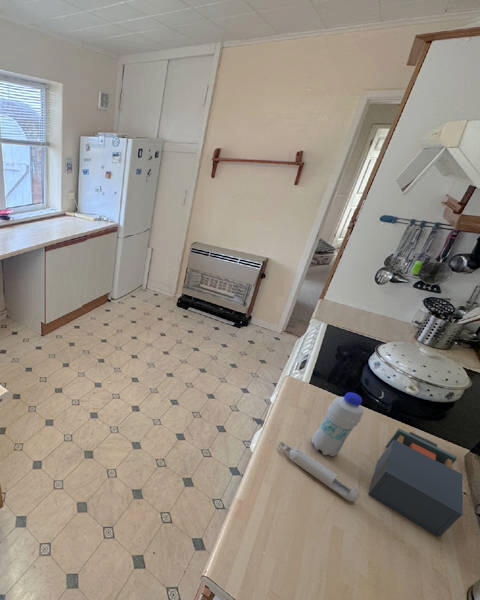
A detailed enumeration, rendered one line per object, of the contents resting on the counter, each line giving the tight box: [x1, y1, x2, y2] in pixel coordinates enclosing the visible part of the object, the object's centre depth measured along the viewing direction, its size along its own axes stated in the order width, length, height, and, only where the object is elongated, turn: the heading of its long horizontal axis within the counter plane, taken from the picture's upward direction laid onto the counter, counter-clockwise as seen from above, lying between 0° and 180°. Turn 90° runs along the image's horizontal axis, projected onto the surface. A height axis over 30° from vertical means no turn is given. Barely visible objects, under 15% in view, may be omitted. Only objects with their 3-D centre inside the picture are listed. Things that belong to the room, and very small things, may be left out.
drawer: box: [385, 428, 458, 469], centre depth 84 cm, size 18×11×7 cm, turn 132°
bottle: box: [311, 391, 364, 457], centre depth 86 cm, size 7×7×20 cm
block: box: [409, 443, 436, 460], centre depth 84 cm, size 5×5×5 cm
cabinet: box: [367, 439, 463, 538], centre depth 77 cm, size 15×13×9 cm
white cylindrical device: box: [278, 440, 360, 502], centre depth 81 cm, size 18×5×7 cm, turn 37°
